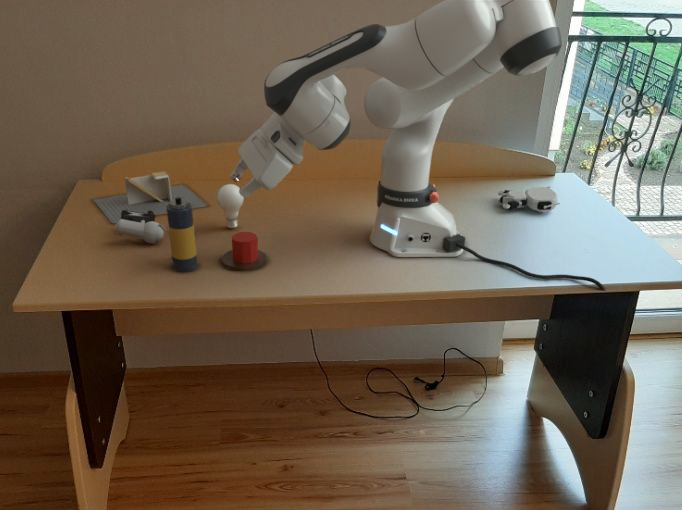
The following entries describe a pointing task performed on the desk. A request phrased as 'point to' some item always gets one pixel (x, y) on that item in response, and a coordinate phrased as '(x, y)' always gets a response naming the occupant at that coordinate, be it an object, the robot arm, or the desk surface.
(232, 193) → the lightbulb
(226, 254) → the coaster
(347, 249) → the desk surface
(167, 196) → the model
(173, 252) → the spray can
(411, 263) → the desk surface
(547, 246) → the desk surface
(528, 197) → the robot toy
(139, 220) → the clip-on lamp
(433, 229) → the robot arm
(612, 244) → the desk surface
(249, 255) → the cap
